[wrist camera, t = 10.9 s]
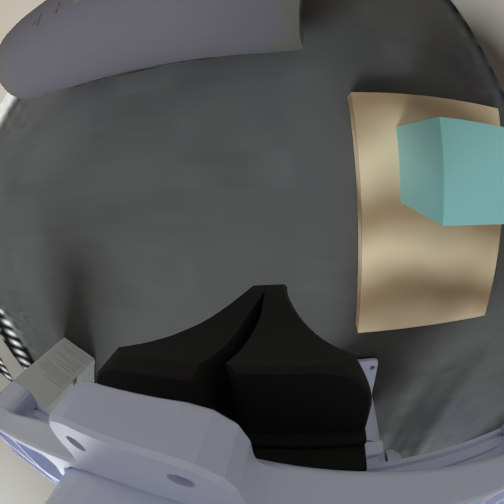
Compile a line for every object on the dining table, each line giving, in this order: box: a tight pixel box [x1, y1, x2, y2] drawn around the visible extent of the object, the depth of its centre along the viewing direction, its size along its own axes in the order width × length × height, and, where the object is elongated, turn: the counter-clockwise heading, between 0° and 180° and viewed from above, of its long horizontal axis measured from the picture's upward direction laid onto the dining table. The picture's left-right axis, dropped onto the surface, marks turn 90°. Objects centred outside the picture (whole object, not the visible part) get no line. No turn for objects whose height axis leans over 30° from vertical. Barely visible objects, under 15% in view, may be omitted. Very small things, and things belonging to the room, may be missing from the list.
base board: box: [347, 92, 501, 333], centre depth 18 cm, size 18×13×2 cm
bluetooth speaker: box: [0, 0, 303, 99], centre depth 12 cm, size 23×9×10 cm, turn 88°
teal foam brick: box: [396, 117, 504, 226], centre depth 13 cm, size 5×5×7 cm
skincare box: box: [0, 337, 95, 412], centre depth 25 cm, size 8×6×15 cm
